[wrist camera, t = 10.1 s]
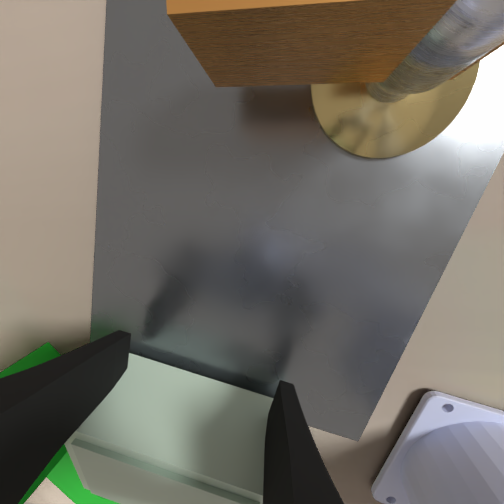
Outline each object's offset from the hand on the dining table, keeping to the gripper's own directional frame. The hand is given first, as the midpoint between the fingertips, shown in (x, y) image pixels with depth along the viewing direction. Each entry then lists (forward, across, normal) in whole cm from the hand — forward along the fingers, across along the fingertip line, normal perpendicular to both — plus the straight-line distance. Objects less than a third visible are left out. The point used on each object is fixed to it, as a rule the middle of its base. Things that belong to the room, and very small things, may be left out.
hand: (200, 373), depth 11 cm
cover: (+2, 0, +4) cm, 5 cm away
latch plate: (+2, -1, -8) cm, 9 cm away
